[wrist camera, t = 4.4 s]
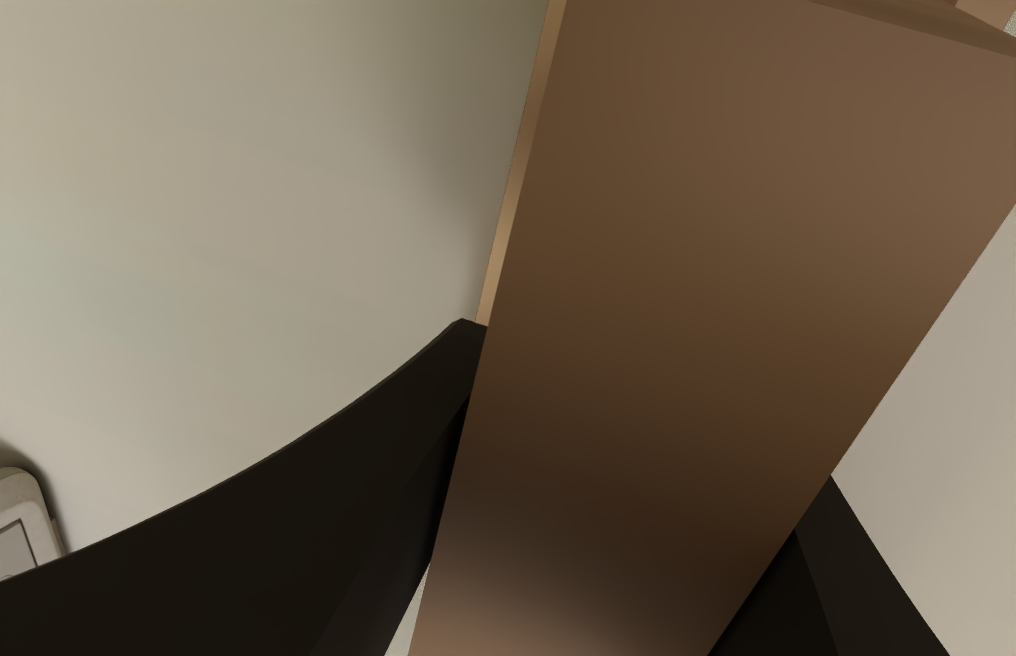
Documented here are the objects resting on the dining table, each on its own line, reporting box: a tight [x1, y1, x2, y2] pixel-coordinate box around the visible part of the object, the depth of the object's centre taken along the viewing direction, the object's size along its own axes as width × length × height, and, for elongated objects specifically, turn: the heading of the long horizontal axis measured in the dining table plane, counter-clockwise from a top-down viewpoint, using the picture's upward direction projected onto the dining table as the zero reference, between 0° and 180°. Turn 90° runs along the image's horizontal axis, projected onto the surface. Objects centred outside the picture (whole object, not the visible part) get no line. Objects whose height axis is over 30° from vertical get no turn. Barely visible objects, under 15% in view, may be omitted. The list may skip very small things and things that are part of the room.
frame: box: [408, 0, 1016, 656], centre depth 9 cm, size 10×3×6 cm, turn 168°
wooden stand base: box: [475, 0, 1016, 326], centre depth 14 cm, size 18×7×4 cm, turn 168°
